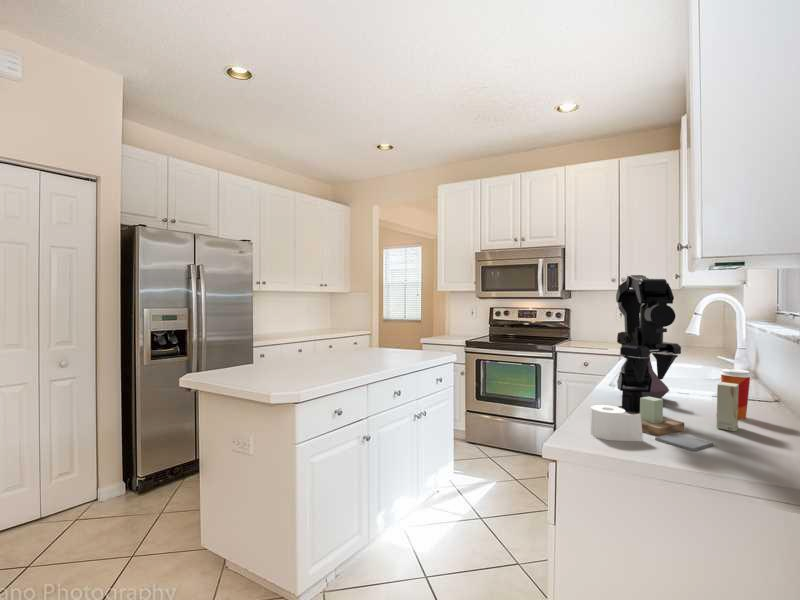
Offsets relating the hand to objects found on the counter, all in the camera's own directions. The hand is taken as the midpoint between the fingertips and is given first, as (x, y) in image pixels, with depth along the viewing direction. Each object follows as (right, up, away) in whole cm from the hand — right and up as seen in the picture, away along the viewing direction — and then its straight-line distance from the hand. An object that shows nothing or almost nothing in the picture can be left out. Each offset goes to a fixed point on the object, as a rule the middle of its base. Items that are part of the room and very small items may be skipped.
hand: (650, 380), depth 124 cm
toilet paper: (-14, -13, -9) cm, 21 cm away
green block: (0, -13, 0) cm, 13 cm away
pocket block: (0, -13, 0) cm, 13 cm away
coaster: (+1, -13, -12) cm, 18 cm away
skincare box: (+22, -13, +1) cm, 26 cm away
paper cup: (+32, -13, +12) cm, 37 cm away
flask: (+17, -13, +34) cm, 40 cm away
